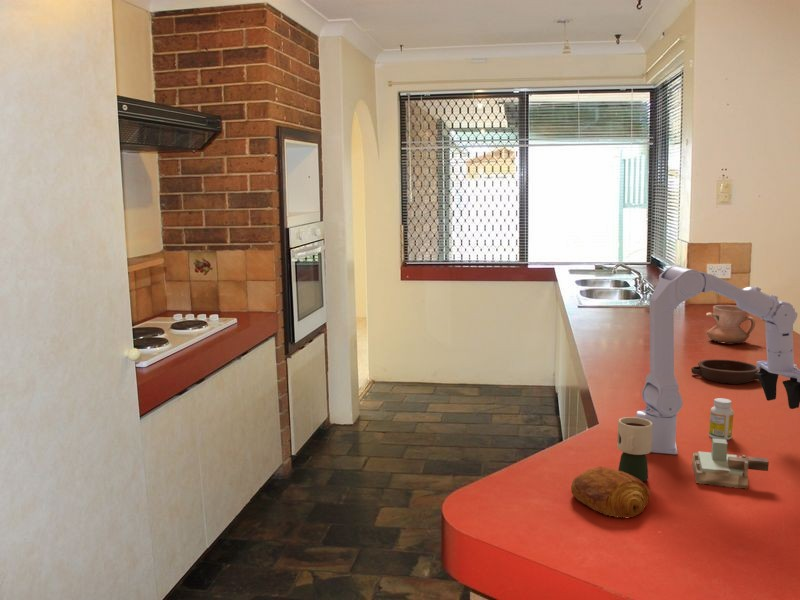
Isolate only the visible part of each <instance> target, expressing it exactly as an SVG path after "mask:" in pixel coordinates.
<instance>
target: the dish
mask: <svg viewBox="0 0 800 600" xmlns="http://www.w3.org/2000/svg"><path fill="white" fill-rule="evenodd" d="M697 364H698V365H697V366H692V367H691V368H690V369H691V374H693V375H697V376H701V377H703V378H705V379H706V380H708V381H710V382H715V383H719V382H720V384H726V383H728V385H738V384H739V385H740V384H745V383H750V382H751V381H755V380H758V378H757V377H756V376H755V373H757V372H759V371H760V370H758V369H757V366H756V365H755V364H752V363H749V362H745V361H740V360H734V359H733V360H731V359H717V358H716V359H704V360H701V361H699V362H698V363H697ZM758 381H759V380H758Z"/></svg>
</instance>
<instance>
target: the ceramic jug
mask: <svg viewBox="0 0 800 600" xmlns="http://www.w3.org/2000/svg"><path fill="white" fill-rule="evenodd" d="M712 309H713V310H712V311H713V312H706V316H707V317H711V318H712V319H714V320H715V322H716V324H715V325H714V326H713V327H711V328H709V329H708V330H707V331H706V335H707V337H708V338H709V339H710V340H711V341H713V340H714V342H716V341H718V342H717V343H719V342H725V343H738V344H742V343H744V342H746V341H747V340H748V339H749V337H750V334H751V333H752V332H753V331H754V329H755V327H756V320H755V318H754V317H753V316H749V315H748V316H746V314H747V312H745V311H743V310H741V309H739V308H738V307H737V305H731V304H717V305H716V304H715V305H713V306H712ZM745 321H750V323H751V325H750V328H749V329H748V331H747V332H746V331H745V330H744V329H743V328H742V327H741V324H742V323H744V322H745ZM741 342H742V343H741Z"/></svg>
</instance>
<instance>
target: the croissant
mask: <svg viewBox="0 0 800 600" xmlns="http://www.w3.org/2000/svg"><path fill="white" fill-rule="evenodd" d="M570 487H571V488H570V490H571V491H570V492H571V494H572V497H574V498H575V499H576V500H577V501H579V502H581V503H582V504H584V505H585V506H586V505H587V507H588V508H589V509H591V510H594V511H595V512H597V511H598V513H599V512H600V514H602V513H603V514H602V515H606V516H607V515H609V516H608V517H611V516H614V517H613V518H622V517H623V519H625V518H624V517H632V518H634V517H636V516H638V515H639V514H641V513H640V512H642V513H643V512H644V510H645V507H644V506H645V505H646V504H647V505H648V503H649V502H650V501H649V499H650V498H649V496H650V495H651V491H650V489H649V487H648V485H646V484H645V483H644V481H643V482H642V481H641V480H639V479H638V478H636V477H634V476H632V475H630V474H628V473H626V472H623V471H619V470H618V469H615V468H614V469H613V468H609V467H605V466H604V467H603V466H599V467H594V468H591V469H587V470H586V471H584V472H581V473H580V474H579V475H577V476H575V478H574V479H573V480H572V482H571V485H570ZM647 505H646V506H647ZM617 516H618V517H617ZM633 516H634V517H633Z"/></svg>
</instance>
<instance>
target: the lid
mask: <svg viewBox="0 0 800 600" xmlns="http://www.w3.org/2000/svg"><path fill="white" fill-rule="evenodd" d="M711 441H712V442H711V450H712V452H711V451H710V452H708V451H697V453H698V457H699V462H700V466H701V471H702V472H707V473H716V469H722V470H729V475H736V476H743V472H742V469H741V468H731V467H729V466H728V457H738V455H737V454H729V453H728V440H725V439H714V438H711Z"/></svg>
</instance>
